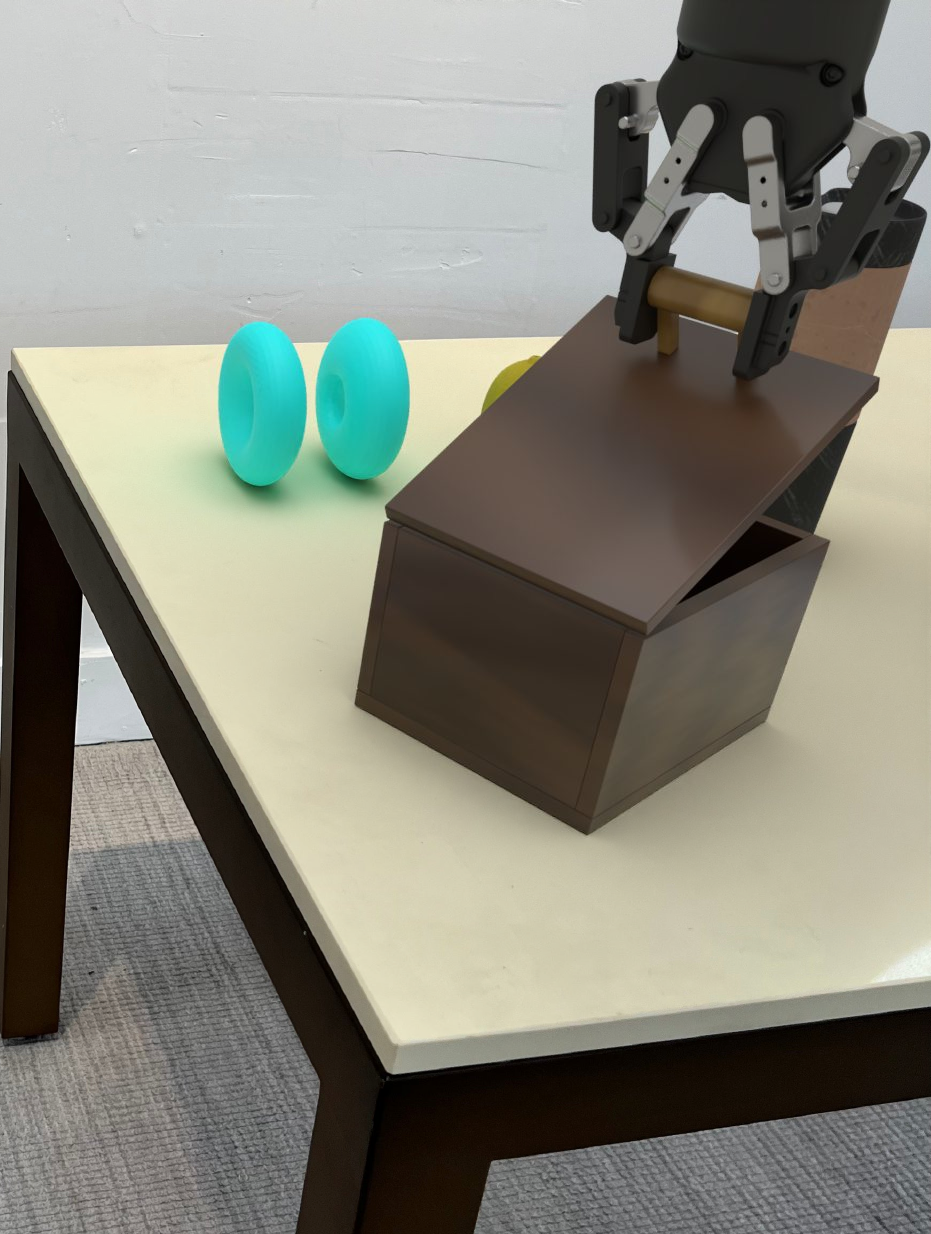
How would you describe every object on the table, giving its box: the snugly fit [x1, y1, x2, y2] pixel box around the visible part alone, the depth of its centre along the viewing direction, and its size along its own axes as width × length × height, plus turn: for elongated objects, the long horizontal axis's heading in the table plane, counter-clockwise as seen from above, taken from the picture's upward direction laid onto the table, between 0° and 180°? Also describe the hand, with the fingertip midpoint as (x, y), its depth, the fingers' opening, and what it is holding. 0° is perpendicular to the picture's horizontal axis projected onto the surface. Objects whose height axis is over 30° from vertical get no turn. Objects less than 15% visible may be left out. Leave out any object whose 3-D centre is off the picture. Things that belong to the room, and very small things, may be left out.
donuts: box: [217, 317, 411, 487], centre depth 94 cm, size 10×10×10 cm
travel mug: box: [753, 187, 928, 534], centre depth 86 cm, size 8×8×20 cm
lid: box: [384, 265, 881, 636], centre depth 64 cm, size 17×14×5 cm
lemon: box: [480, 354, 542, 415], centre depth 96 cm, size 6×6×8 cm
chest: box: [354, 515, 831, 835], centre depth 71 cm, size 16×14×10 cm
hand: (691, 355), depth 66 cm, fingers closed on lid, 5 cm apart
